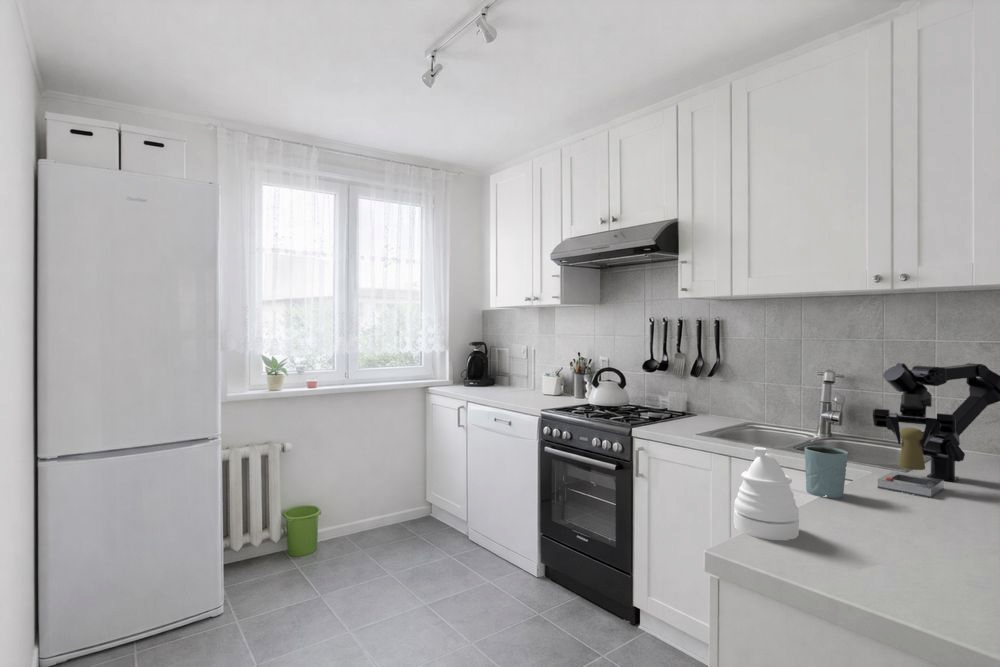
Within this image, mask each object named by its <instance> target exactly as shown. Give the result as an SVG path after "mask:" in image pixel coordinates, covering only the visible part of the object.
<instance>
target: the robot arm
mask: <svg viewBox="0 0 1000 667" xmlns="http://www.w3.org/2000/svg"><path fill="white" fill-rule="evenodd" d="M907 366H908V365H906V364H905V363H901V362H897V363H896V365H893V366H891V367H889V368H888V369H886V370H885V371H884V372H883V375H882V376H883V379H884V380H885V381H886V382H887V383H888V384H889V385H890V386H891V387H893V389H894V390H896V391H897V392H899V393H902V394H901V395H900V407H899V413H900V414H898V413H897V412H891V411H890V409H886V408H885V409H884V408H875V409H873V410H872V418H873V419H872V420H873V425H874V427H877V428H878V427H879V428H885V429H887V430H889V431H891V432H892V433H893V434H894V436H895V439H896V441H897V444H898V445H901V444H902V440H901V439H902V438H901V436H900V431H901V429H900V423H901V424H909V425H919V426H924V427H925V428H924V431H922V433H923V438H922V440H921V446H922V452H923V456H928V457H930V473H929V474H927V475H926V477H929V478H935V479H941V480H944V481H947V482H952V483H954V482H956V481H957V480H959V479H958V478H960V477H959V476H956V462H958V463H959V462H962V461H964V459H965V456H966V455H965V452H964V451H963V450H962V449H961V447H960V442H961V440H960V436H961V435H962V433H963V432H964V431H965V430H966V429H967V428H968V427H970V425H971V424H972V423H973V421H975V420H976V419H977V417H978V416H980V414H981V413H983V411H984V410H985V409H986V408H987V407H988V406H990V405H994V404H997V403H999V402H1000V375H999V374H998V373H996V372H994V371H992V370H990V368H988V366H986V365H985V364H982V363H971V362H970V363H969V362H968V363H964V364H959V365H956V364H955V365H949V366H926V365H913V367H912V369H909V368H908V367H907ZM961 379H966V384H967V385H968V386H969V387H968V389H969V390H968V391H969V396H968V397H967V398H966V399H965V400H964V401H963V402H962V403H961V404H960V405H959V406H958V407H956V409H955V410H954V411H953V412H952V413H951V414H950V413H936V418H935V417H927V407H929V408H931V407H932V405H933V404H932V403H933V401H932V399H933V397H932V394H931V393H930V391H928V388H927V386H930V387H939V386H941V385H944V384H947V382H948V381H953V380H961Z"/></svg>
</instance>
